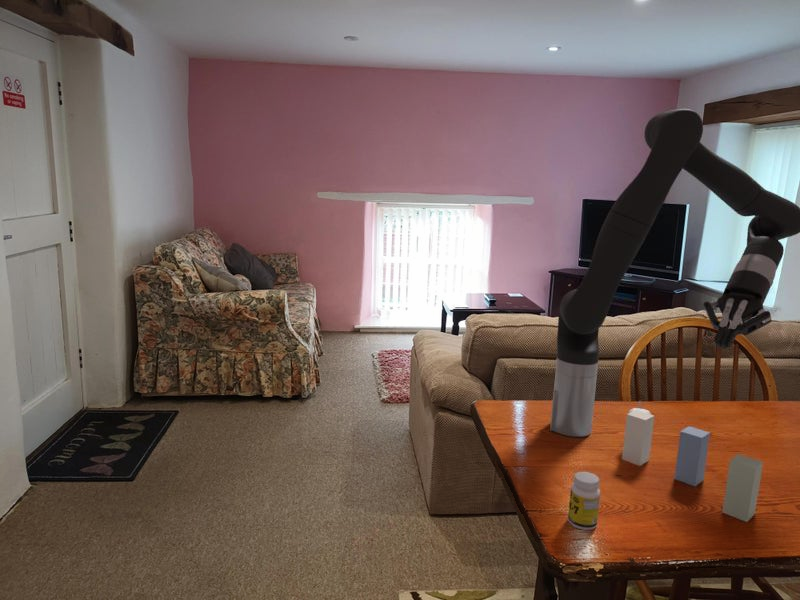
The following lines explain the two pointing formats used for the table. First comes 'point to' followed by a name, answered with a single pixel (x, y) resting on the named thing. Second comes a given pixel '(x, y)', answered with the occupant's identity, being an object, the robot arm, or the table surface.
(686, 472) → the slate blue block
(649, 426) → the cream block
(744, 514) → the sage block
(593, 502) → the supplement bottle
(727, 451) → the table surface
